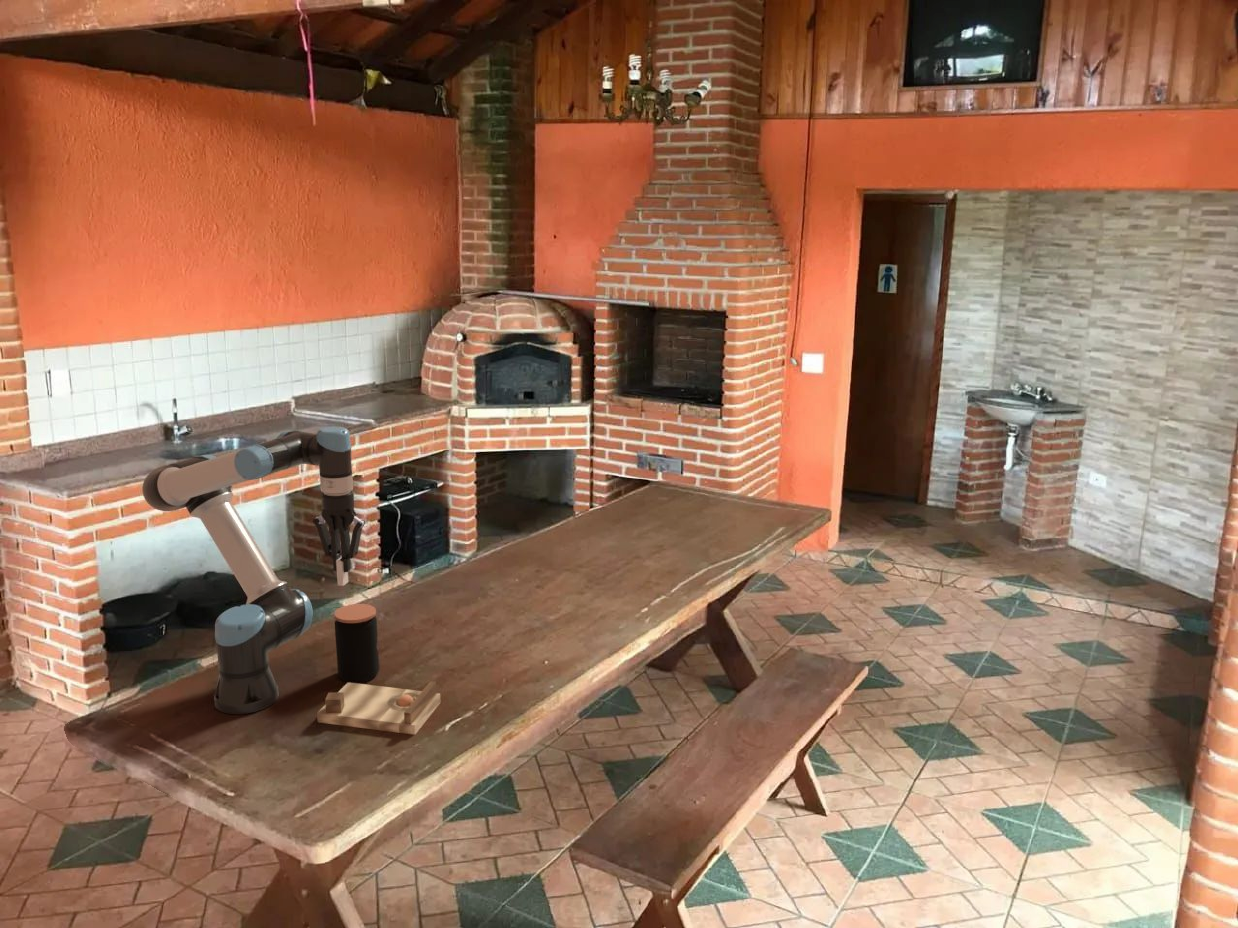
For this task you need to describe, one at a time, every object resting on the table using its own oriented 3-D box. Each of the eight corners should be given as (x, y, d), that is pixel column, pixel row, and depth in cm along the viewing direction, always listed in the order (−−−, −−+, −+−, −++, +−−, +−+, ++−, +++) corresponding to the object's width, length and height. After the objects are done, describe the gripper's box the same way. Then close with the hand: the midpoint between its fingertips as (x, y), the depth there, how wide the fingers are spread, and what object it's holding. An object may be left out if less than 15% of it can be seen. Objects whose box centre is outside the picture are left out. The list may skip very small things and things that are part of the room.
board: (317, 722, 243) (316, 701, 242) (348, 691, 258) (347, 671, 257) (415, 734, 238) (414, 713, 237) (440, 702, 253) (439, 682, 252)
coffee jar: (387, 674, 267) (384, 611, 263) (352, 688, 260) (348, 623, 255) (365, 662, 275) (361, 600, 270) (330, 675, 267) (325, 611, 262)
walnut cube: (326, 713, 242) (325, 699, 242) (329, 706, 246) (328, 692, 245) (341, 713, 243) (340, 699, 242) (344, 705, 246) (343, 692, 245)
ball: (403, 716, 247) (391, 705, 248) (409, 711, 251) (398, 700, 251) (413, 705, 246) (401, 693, 247) (419, 700, 250) (408, 689, 251)
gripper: (304, 494, 240) (311, 586, 246) (355, 498, 237) (360, 591, 243) (319, 485, 247) (326, 575, 253) (369, 489, 244) (374, 580, 250)
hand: (343, 583), depth 248 cm, fingers closed
